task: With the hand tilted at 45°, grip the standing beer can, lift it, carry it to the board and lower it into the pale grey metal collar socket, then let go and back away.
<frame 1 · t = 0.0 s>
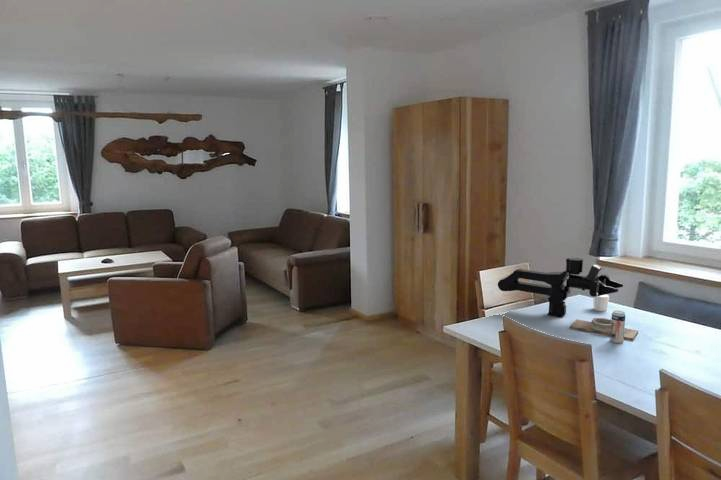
hand: (620, 288, 214), 17 cm above the table, tool horizontal, fingers open, 9 cm apart
beer can: (616, 342, 200), on the table
white cup: (600, 309, 240), on the table
socket board: (603, 330, 212), on the table
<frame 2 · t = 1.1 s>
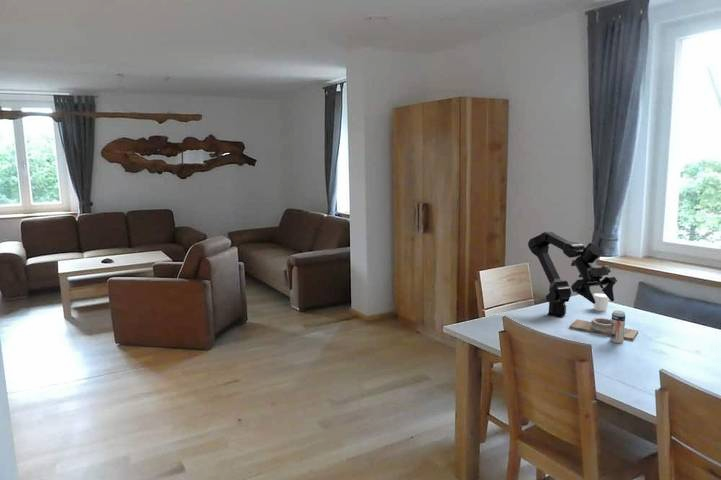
hand: (603, 302, 205), 14 cm above the table, tool tilted 45°, fingers open, 9 cm apart
nothing on the table moved.
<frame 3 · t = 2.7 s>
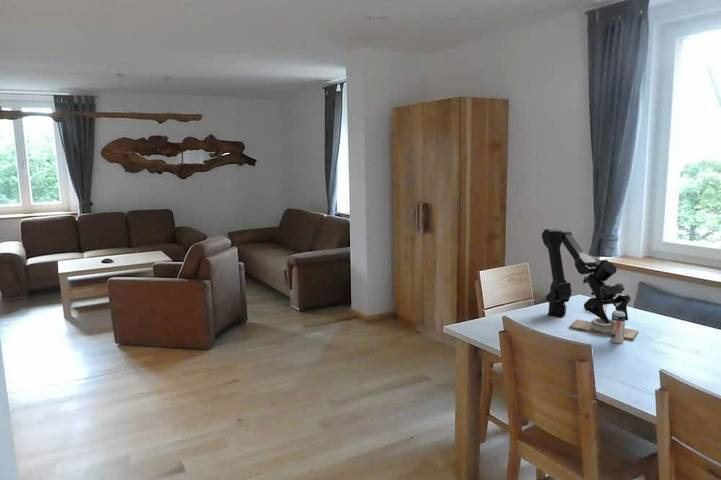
hand: (617, 321, 198), 8 cm above the table, tool tilted 45°, fingers open, 9 cm apart
nothing on the table moved.
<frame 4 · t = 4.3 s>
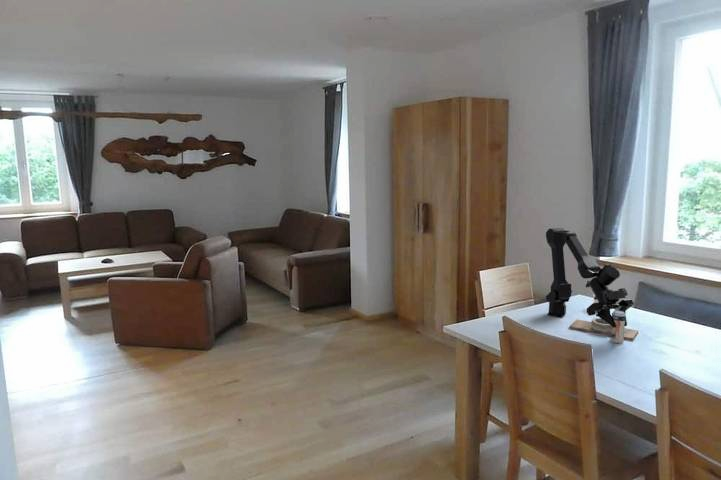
hand: (620, 326, 197), 7 cm above the table, tool tilted 45°, fingers closed on beer can, 5 cm apart
beer can: (616, 342, 200), on the table, touching gripper
everything else where it was.
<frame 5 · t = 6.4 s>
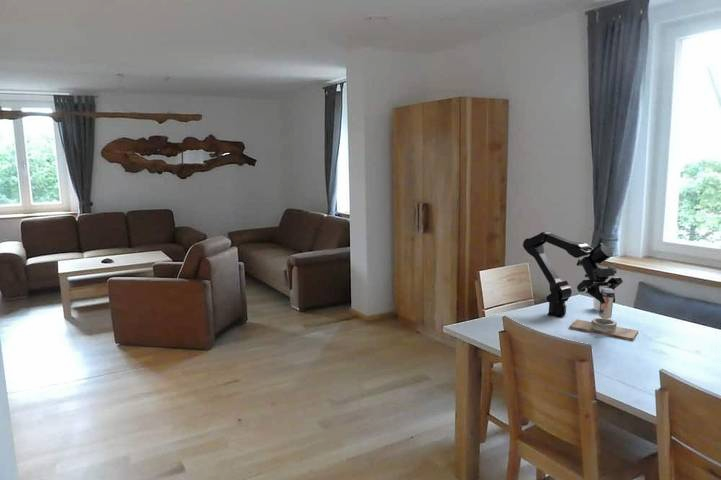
hand: (609, 302, 206), 13 cm above the table, tool tilted 45°, fingers closed on beer can, 5 cm apart
beer can: (604, 317, 209), point 6 cm above the table, touching gripper
everything else where it was.
when the fingers open (9 cm above the table, at t = 8.4 s): beer can drops 1 cm, resting on socket board.
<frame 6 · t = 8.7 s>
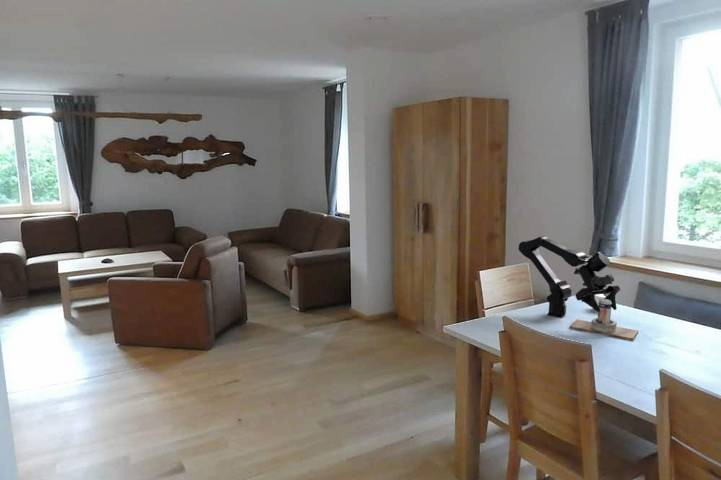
hand: (607, 310, 209), 9 cm above the table, tool tilted 45°, fingers open, 8 cm apart
beer can: (602, 328, 212), point 1 cm above the table, touching socket board
everything else where it was.
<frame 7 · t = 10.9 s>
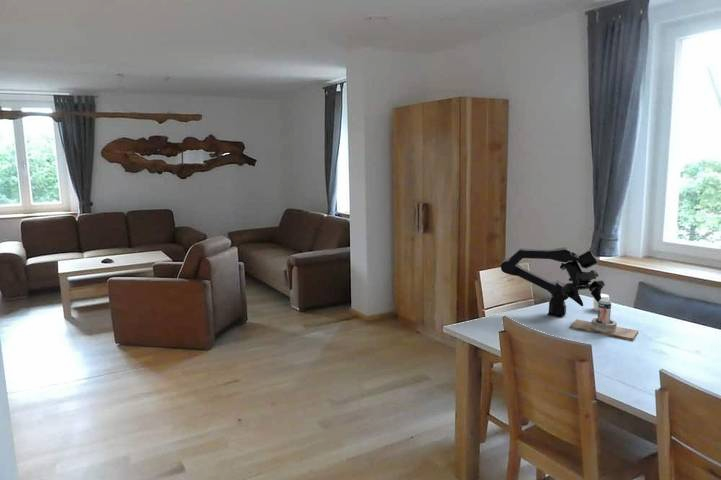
hand: (591, 304, 217), 9 cm above the table, tool tilted 45°, fingers open, 9 cm apart
nothing on the table moved.
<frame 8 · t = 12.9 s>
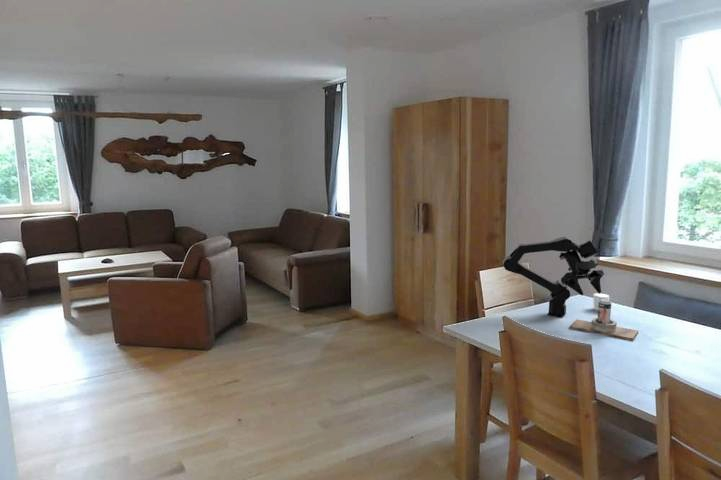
hand: (591, 293, 217), 14 cm above the table, tool tilted 45°, fingers open, 9 cm apart
nothing on the table moved.
at the end: beer can 0.2 cm off-centre on the socket board, point 0.8 cm above the socket board's base; beer can tilted 0°; the gripper is holding nothing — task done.
